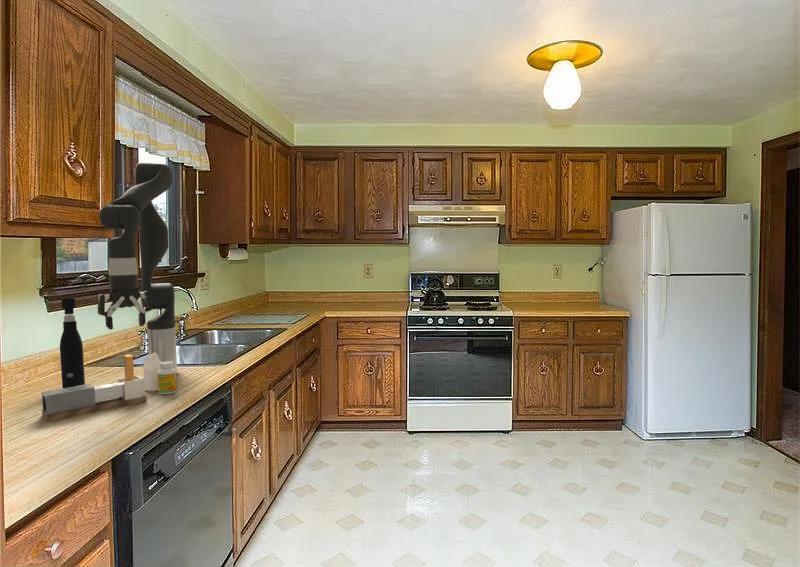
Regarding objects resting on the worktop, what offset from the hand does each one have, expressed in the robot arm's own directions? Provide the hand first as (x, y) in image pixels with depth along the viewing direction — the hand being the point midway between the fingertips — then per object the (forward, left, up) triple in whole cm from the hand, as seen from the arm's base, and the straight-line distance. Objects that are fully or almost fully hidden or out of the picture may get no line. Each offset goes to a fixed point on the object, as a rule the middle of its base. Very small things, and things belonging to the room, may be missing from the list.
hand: (126, 327), depth 157 cm
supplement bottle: (-9, +8, -23) cm, 26 cm away
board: (+6, -7, -23) cm, 24 cm away
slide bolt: (+3, -4, -20) cm, 21 cm away
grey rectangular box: (+10, -12, -21) cm, 26 cm away
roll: (-14, +2, -23) cm, 27 cm away
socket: (0, 0, -21) cm, 21 cm away
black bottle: (-19, -26, -23) cm, 39 cm away
